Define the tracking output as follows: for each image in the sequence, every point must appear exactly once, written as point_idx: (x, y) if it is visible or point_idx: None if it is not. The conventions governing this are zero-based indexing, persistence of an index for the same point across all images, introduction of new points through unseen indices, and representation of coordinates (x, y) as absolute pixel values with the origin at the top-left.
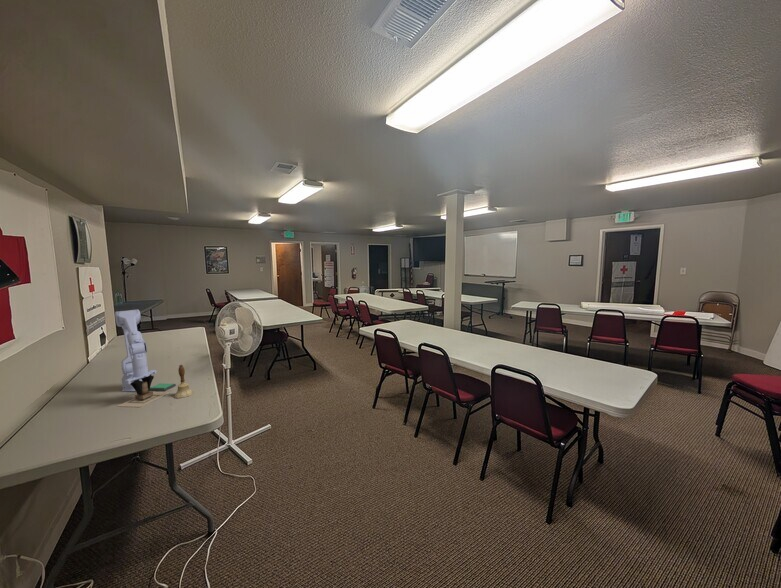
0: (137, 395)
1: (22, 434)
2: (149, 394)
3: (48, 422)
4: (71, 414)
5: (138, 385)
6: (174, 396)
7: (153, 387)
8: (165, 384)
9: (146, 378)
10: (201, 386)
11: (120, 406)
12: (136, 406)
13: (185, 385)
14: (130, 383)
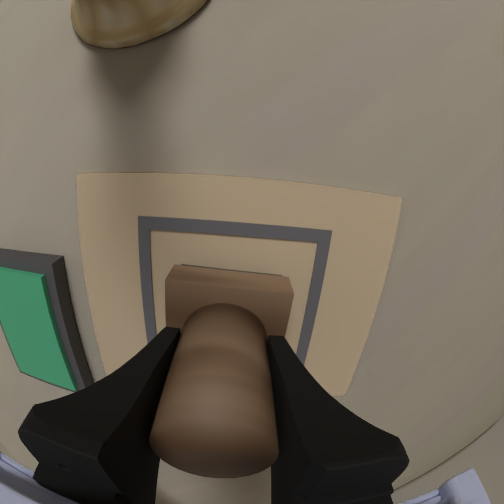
0: None
1: (471, 437)
2: (214, 277)
3: (418, 461)
4: None
5: (365, 422)
6: (192, 7)
7: (66, 372)
8: (9, 320)
9: (131, 481)
10: (8, 21)
11: (353, 371)
12: (391, 239)
13: None
14: (456, 477)
